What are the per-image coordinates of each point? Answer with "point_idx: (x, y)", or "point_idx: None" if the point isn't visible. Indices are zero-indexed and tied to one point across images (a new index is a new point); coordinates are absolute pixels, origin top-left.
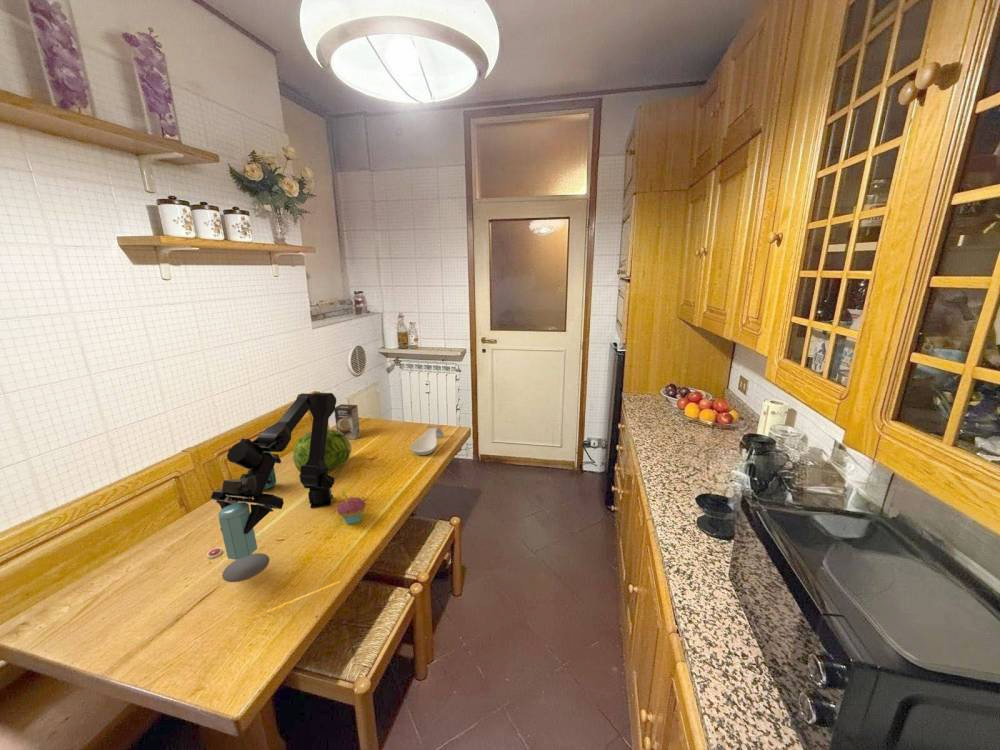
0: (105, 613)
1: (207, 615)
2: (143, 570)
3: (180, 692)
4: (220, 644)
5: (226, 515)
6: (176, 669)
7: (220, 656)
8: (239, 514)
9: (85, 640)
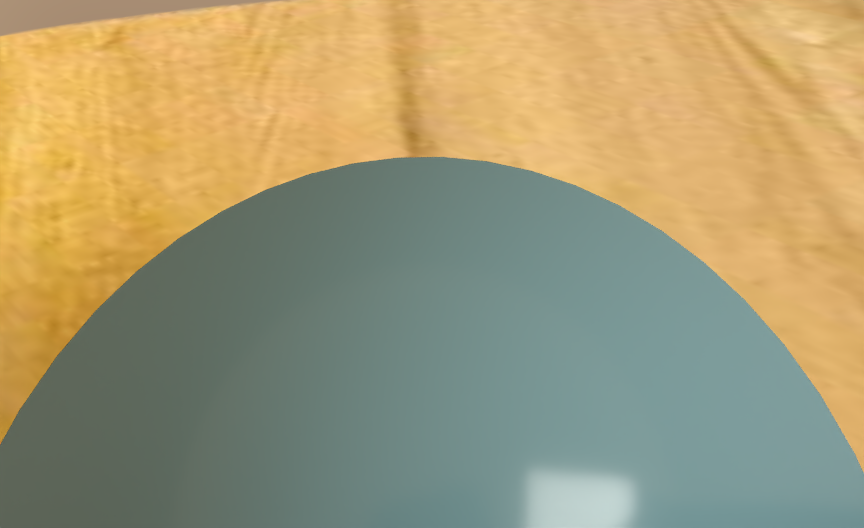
0: (669, 69)
1: None
2: (850, 218)
3: (154, 24)
4: (172, 131)
5: (333, 247)
6: (228, 49)
7: (135, 109)
8: (23, 450)
9: (585, 11)
